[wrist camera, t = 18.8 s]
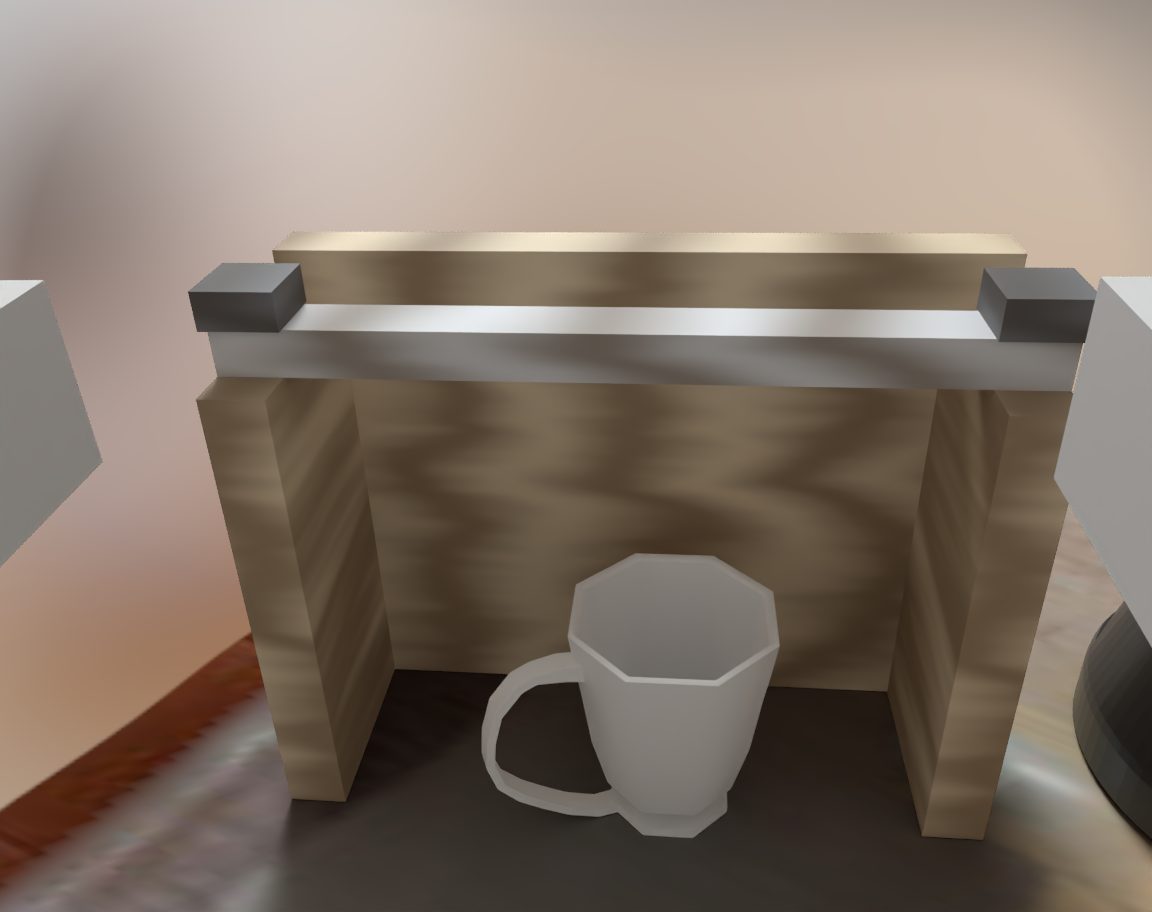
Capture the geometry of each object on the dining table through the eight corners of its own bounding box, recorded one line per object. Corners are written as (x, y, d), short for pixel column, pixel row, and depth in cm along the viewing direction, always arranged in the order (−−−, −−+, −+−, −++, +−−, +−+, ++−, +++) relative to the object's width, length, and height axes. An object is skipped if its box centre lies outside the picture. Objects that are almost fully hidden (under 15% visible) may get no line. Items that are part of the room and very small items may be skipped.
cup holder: (933, 660, 42) (1019, 212, 32) (989, 840, 34) (1123, 319, 25) (357, 635, 44) (283, 211, 35) (286, 798, 36) (167, 309, 27)
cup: (804, 841, 34) (827, 657, 30) (516, 924, 32) (500, 737, 28) (718, 701, 40) (728, 532, 36) (470, 762, 38) (451, 588, 34)
